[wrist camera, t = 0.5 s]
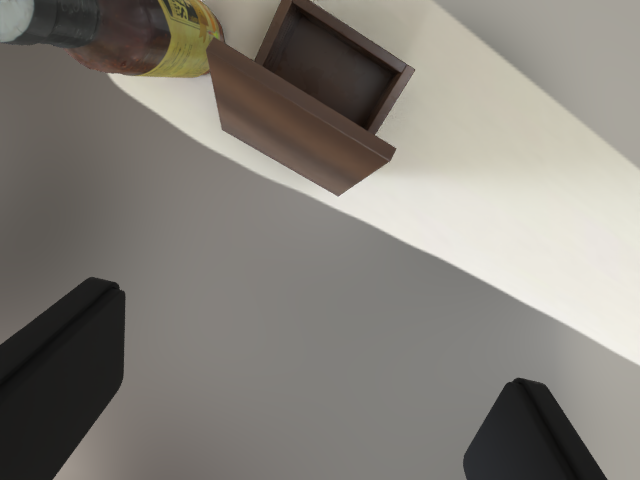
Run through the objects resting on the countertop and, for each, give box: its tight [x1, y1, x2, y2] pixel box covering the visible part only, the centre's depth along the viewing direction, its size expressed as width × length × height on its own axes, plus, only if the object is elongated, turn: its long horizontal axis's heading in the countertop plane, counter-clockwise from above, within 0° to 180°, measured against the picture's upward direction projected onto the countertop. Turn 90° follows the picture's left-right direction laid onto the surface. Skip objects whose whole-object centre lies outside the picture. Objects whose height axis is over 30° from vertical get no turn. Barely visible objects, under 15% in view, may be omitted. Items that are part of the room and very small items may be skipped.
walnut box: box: [254, 0, 415, 135], centre depth 31 cm, size 10×10×7 cm
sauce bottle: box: [0, 0, 224, 78], centre depth 24 cm, size 7×6×20 cm
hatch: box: [206, 37, 396, 196], centre depth 24 cm, size 11×10×1 cm
